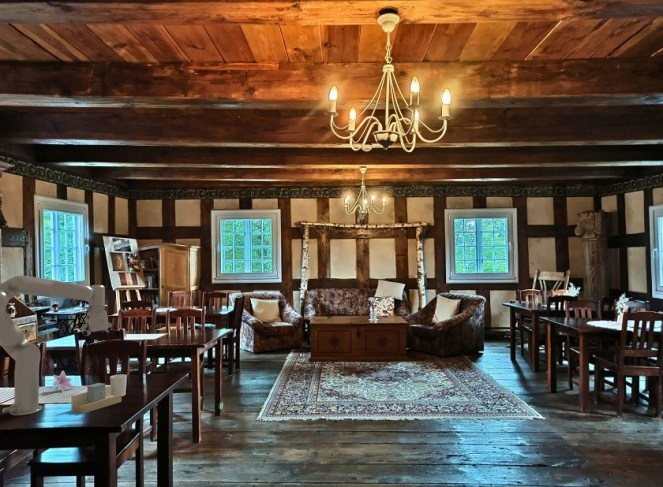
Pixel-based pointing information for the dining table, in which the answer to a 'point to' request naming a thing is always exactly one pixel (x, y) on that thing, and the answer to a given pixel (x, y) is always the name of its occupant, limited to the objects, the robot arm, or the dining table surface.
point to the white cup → (118, 384)
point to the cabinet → (95, 392)
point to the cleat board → (83, 406)
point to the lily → (62, 381)
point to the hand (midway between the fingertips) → (96, 342)
